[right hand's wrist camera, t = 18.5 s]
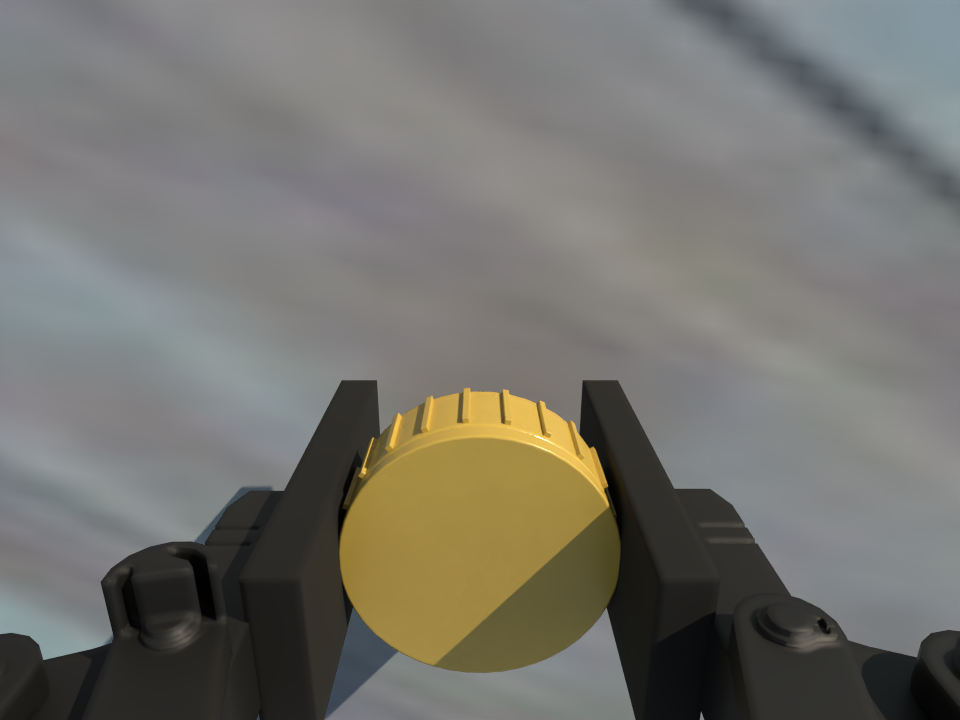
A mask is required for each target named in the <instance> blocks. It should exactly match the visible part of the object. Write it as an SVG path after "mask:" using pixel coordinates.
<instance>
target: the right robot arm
mask: <svg viewBox="0 0 960 720" xmlns="http://www.w3.org/2000/svg"><path fill="white" fill-rule="evenodd" d="M379 436H380V427H379V410H378V392H377V380H342V381H341V383H340V385H339V387H338V389H337V391H336V393H335V395H334V397H333V398H332V400H331V402H330V404H329V406H328V408H327V410H326V412H325V414H324V416H323V418H322V419H321V421H320V423H319V425H318V427H317V429H316V431H315V433H314V435H313V437H312V439H311V441H310V442H309V444H308V446H307V448H306V450H305V452H304V454H303V456H302V458H301V460H300V462H299V464H298V465H297V467H296V469H295V471H294V473H293V475H292V477H291V479H290V481H289V483H288V485H287V486H286V488H285V490H284V491H249V492H248V493H246V494H245V495H244V496H242V497H241V498H240V499H238V500H237V501H235V502H234V503H233V504H231V505H230V506H229V507H227V509H226V511H225V512H224V514H223V515H222V517H221V518H220V520H219V521H218V523H217V524H216V526H215V530H213V531H212V532H211V534H210V535H209V537H208V538H207V540H206V542H205V545H202V544H199V543H195V542H169V543H165V544H160V545H156V546H151V547H148V548H146V549H144V550H141V551H139V552H137V553H134V554H132V555H130V556H128V557H126V558H125V559H124V560H122V561H121V562H119V563H118V564H117V565H115V566H114V567H112V568H111V569H110V571H109V572H108V573H107V574H106V576H105V577H104V578H103V580H102V581H101V585H102V590H103V594H104V598H105V602H106V606H107V611H108V615H109V619H110V623H111V627H112V631H113V636H114V638H113V641H112V643H111V644H107V645H104V646H101V647H97V648H94V649H90V650H86V651H82V652H77V653H73V654H69V655H64V656H60V657H56V658H51V659H47V660H43V657H42V654H41V650H40V647H39V645H38V644H37V643H36V642H35V641H34V640H33V639H32V638H31V637H30V636H26V635H20V634H15V633H7V634H0V720H256V719H257V717H258V714H259V717H260V720H324V717H325V713H326V709H327V706H328V702H329V698H330V694H331V690H332V686H333V682H334V678H335V675H336V671H337V667H338V663H339V659H340V655H341V651H342V647H343V644H344V640H345V636H346V632H347V628H348V624H349V620H350V617H351V613H352V609H353V606H352V604H351V602H350V600H349V598H348V596H347V594H346V591H345V588H344V586H343V583H342V579H341V569H340V557H339V535H340V531H341V528H342V524H343V520H344V517H345V514H346V511H347V510H345V509H342V507H343V504H344V501H345V499H346V496H347V493H348V490H349V487H350V484H351V481H352V479H353V476H354V473H355V470H356V467H359V468H361V466H362V463H363V460H364V457H365V454H366V451H367V448H368V445H369V442H370V440H371V439H372V438H375V439H376V440H377V439H378V437H379ZM580 436H581V438H582V439H583V440H584V442H585V443H586V444H587V446H588V447H589V449H590V448H592V447H594V448H595V450H596V452H597V455H598V458H599V461H600V464H601V467H602V470H603V472H604V475H605V478H606V481H607V484H608V487H607V489H608V491H609V494H610V497H611V500H612V503H613V506H614V509H615V512H616V515H617V517H616V521H617V524H618V527H619V533H620V538H621V552H620V564H619V575H618V582H617V585H616V589H615V591H614V593H613V595H612V598H611V600H610V602H609V604H608V605H607V610H608V614H609V618H610V622H611V626H612V630H613V634H614V637H615V641H616V645H617V649H618V653H619V657H620V661H621V665H622V668H623V672H624V676H625V680H626V684H627V688H628V692H629V696H630V699H631V703H632V707H633V711H634V715H635V719H636V720H700V714H701V712H702V714H703V717H704V720H960V631H952V630H946V631H941V632H935V633H931V634H930V635H929V636H928V637H926V638H925V639H924V640H923V641H922V642H921V645H920V649H919V652H918V656H917V657H912V656H908V655H904V654H899V653H895V652H890V651H886V650H882V649H877V648H873V647H868V646H865V645H862V644H858V643H855V642H852V641H849V640H847V637H846V635H845V634H844V632H843V631H842V629H841V628H840V626H839V625H838V623H837V622H836V621H835V620H834V619H833V618H831V617H830V616H829V615H828V614H826V613H825V612H824V611H823V610H821V609H820V608H818V607H816V606H814V605H812V604H810V603H808V602H806V601H804V600H802V599H800V598H796V597H792V596H791V595H790V593H789V592H788V590H787V589H786V587H785V586H784V584H783V582H782V581H781V579H780V578H779V576H778V575H777V573H776V572H775V570H774V569H773V567H772V566H771V564H770V562H769V561H768V559H767V558H766V556H765V555H764V553H763V552H762V550H761V549H760V547H759V545H758V544H755V539H754V538H753V536H752V535H751V533H750V532H749V530H748V529H747V528H745V526H744V522H743V521H742V519H741V518H740V516H739V515H738V513H737V512H736V510H735V509H734V507H733V505H731V504H730V503H729V502H727V501H726V500H725V499H723V498H722V497H720V496H719V495H718V494H716V493H715V492H714V491H712V490H711V489H674V487H673V485H672V484H671V482H670V480H669V478H668V476H667V474H666V472H665V470H664V468H663V466H662V464H661V462H660V461H659V459H658V457H657V455H656V453H655V451H654V449H653V447H652V445H651V443H650V441H649V439H648V438H647V436H646V434H645V432H644V430H643V428H642V426H641V424H640V422H639V420H638V418H637V416H636V415H635V413H634V411H633V409H632V407H631V405H630V403H629V401H628V399H627V397H626V395H625V393H624V392H623V390H622V388H621V386H620V384H619V382H618V380H583V385H582V403H581V420H580Z"/></svg>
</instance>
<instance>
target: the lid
mask: <svg viewBox="0 0 960 720" xmlns="http://www.w3.org/2000/svg"><path fill="white" fill-rule="evenodd" d="M607 487H608V484H607V481H606V478H605V475H604V472H603V470H602V467H601V464H600V461H599V458H598V455H597V452H596V450H595V448H594V447H592V448H590V449H589V447H588V446H587V444H586V443H585V442H584V440H583V439H582V438H581V436H580V435H579V434H578V433H577V429H576V426H575V423H573V422H572V421H571V420H570V421H569V422H568V423H567V422H566V421H564V420H563V419H562V418H560V417H559V416H558V415H556V414H555V413H553V412H551V411H550V410H548V409H546V406H545V403H544V402H542V401H539V402H538V404H536V403H534V402H531V401H529V400H527V399H524V398H520V397H516V396H513V395H509V390H502V393H495V392H470V388H464V392H463V393H456V394H452V395H448V396H443V397H440V398H437V399H433V397H432V396H430V397H427V398H426V402H425V403H423V404H421V405H419V406H417V407H415V408H413V409H411V410H410V411H408V412H407V413H405V414H404V415H402V416H401V415H400V414H399V413H397V414H396V415H395V416H394V418H393V421H392V424H391V425H390V426H389V427H388V428H386V429H385V430H384V432H383V433H382V434H381V435H380V436H379V437H378V439H377V440H376V439H375V438H372V439H371V440H370V442H369V445H368V448H367V451H366V454H365V457H364V460H363V463H362V466H361V468H359V467H356V470H355V473H354V476H353V479H352V481H351V484H350V487H349V490H348V493H347V496H346V499H345V501H344V504H343V507H342V509H345V510H347V511H346V514H345V517H344V520H343V524H342V528H341V531H340V535H339V557H340V569H341V579H342V583H343V586H344V588H345V591H346V594H347V596H348V598H349V600H350V602H351V604H352V606H353V608H354V609H355V611H356V612H357V614H358V615H359V616H360V618H361V619H362V620H363V622H364V623H365V624H366V625H367V626H368V627H369V628H370V629H371V630H372V631H373V632H374V633H375V634H376V635H377V636H378V637H379V638H380V639H382V640H383V641H384V642H385V643H387V644H388V645H389V646H391V647H393V648H394V649H396V650H397V651H399V652H401V653H402V654H404V655H406V656H409V657H411V658H413V659H415V660H417V661H420V662H422V663H425V664H428V665H431V666H434V667H439V668H443V669H447V670H452V671H460V672H472V673H488V672H501V671H507V670H512V669H518V668H521V667H525V666H528V665H532V664H535V663H537V662H540V661H542V660H545V659H547V658H549V657H552V656H553V655H555V654H557V653H559V652H561V651H562V650H564V649H566V648H567V647H569V646H570V645H571V644H573V643H574V642H576V641H577V640H578V639H579V638H581V637H582V636H583V635H584V634H585V633H586V632H587V631H588V630H589V629H590V628H591V627H592V626H593V625H594V624H595V622H596V621H597V620H598V619H599V618H600V617H601V615H602V613H603V612H604V610H605V609H606V607H607V605H608V604H609V602H610V600H611V598H612V595H613V593H614V591H615V589H616V585H617V582H618V575H619V564H620V552H621V538H620V533H619V527H618V524H617V521H616V517H617V515H616V512H615V509H614V506H613V503H612V500H611V497H610V494H609V491H608V489H607Z"/></svg>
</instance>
